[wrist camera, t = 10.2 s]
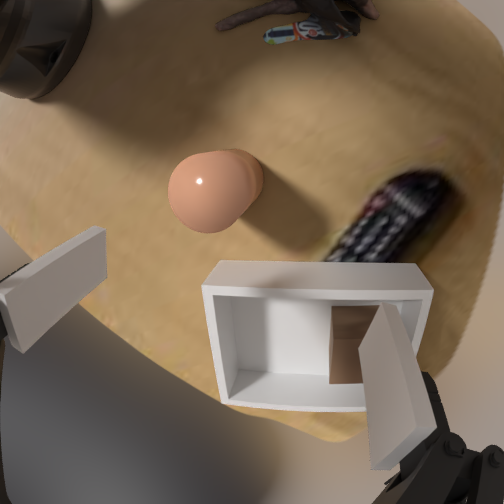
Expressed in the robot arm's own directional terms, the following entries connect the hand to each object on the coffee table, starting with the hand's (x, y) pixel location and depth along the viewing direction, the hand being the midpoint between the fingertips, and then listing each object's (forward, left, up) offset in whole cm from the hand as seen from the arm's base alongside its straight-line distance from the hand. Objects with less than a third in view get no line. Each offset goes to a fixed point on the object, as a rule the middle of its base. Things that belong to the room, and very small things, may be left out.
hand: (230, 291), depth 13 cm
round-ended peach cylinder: (-3, -3, -13) cm, 14 cm away
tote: (+11, +4, -13) cm, 17 cm away
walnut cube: (+10, +8, -12) cm, 18 cm away
